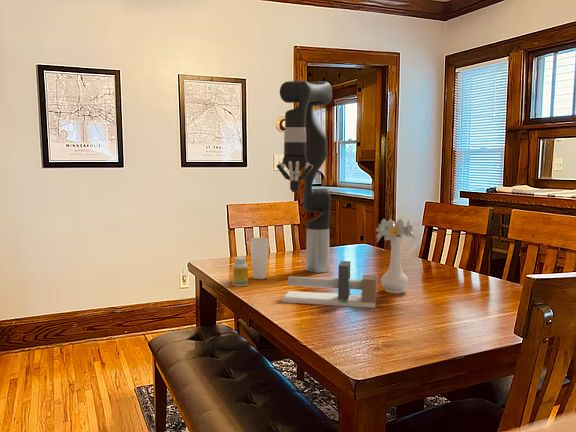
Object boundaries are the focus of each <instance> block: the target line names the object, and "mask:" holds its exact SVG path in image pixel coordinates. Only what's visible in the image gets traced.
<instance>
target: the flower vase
mask: <svg viewBox="0 0 576 432" xmlns="http://www.w3.org/2000/svg"><path fill="white" fill-rule="evenodd" d="M406 223H407V224H404V221H403V219H401V218H399V219H398V220H397V221H396V222H395V220H393V219H392V218H390V219H388V220H386V219H385V218H383V219H382V220H380V223H379V224H378V227H376V228H375V232H378V233H377V234H376V236H375V237H376V239H377V240H376V243H379V241H380V240H381V238H382V237H384V239H383V240H384V241H390V247H391V248H390V263H389V266H388V269H387V271H386V272H385V273H384V274H383V275H382V276H381V279H380V283H381V285H382V287H383V288H385V292H387V293H389V294H403V293H404V292H405V289H406V288H408V286H409V284H410V283H409V282H410V280H409V277H408V276H407V275H406V274H405V273H404V271H403V269H402V266H401V245H402V242H403V241H402V240H403V238H404V236H405V237H407V238H410V237H411V238H412V239H413V240H415V241H417V239H416V237H415V236H414V233H415V231H414V229H413V226H412V225H410V220H409V219H407V222H406Z"/></svg>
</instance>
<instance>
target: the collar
mask: <svg viewBox="0 0 576 432" xmlns="http://www.w3.org/2000/svg"><path fill="white" fill-rule="evenodd" d="M337 279H338V288H337V292H338V293H337V294H338V299H345V300H348V298H349V294H351V289H350V290H348V286H349V279H351V260H350V261H348V260H341V261H340V262H339V264H338V277H337Z"/></svg>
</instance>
